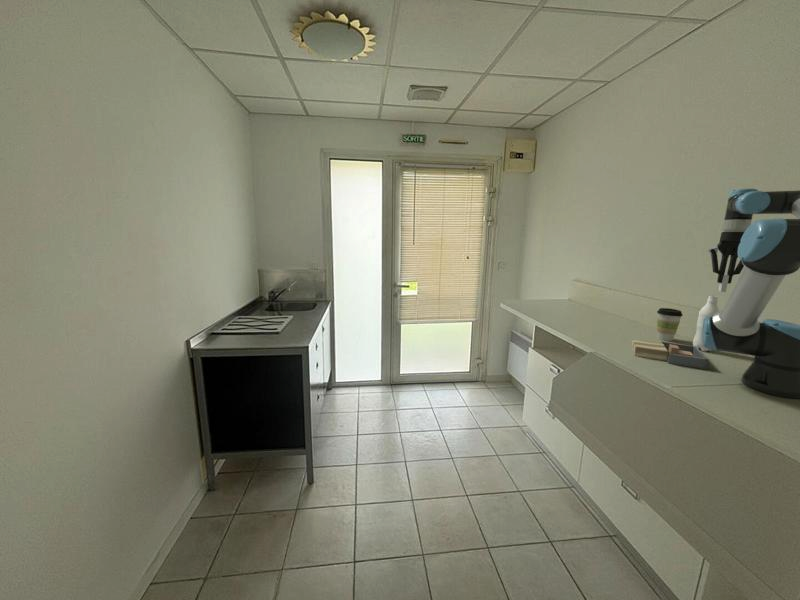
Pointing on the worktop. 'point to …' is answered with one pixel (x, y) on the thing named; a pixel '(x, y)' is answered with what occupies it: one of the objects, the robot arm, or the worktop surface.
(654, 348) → the board
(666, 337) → the coffee cup
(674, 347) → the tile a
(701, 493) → the worktop surface
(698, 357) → the tray
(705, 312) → the water bottle
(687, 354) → the tile
